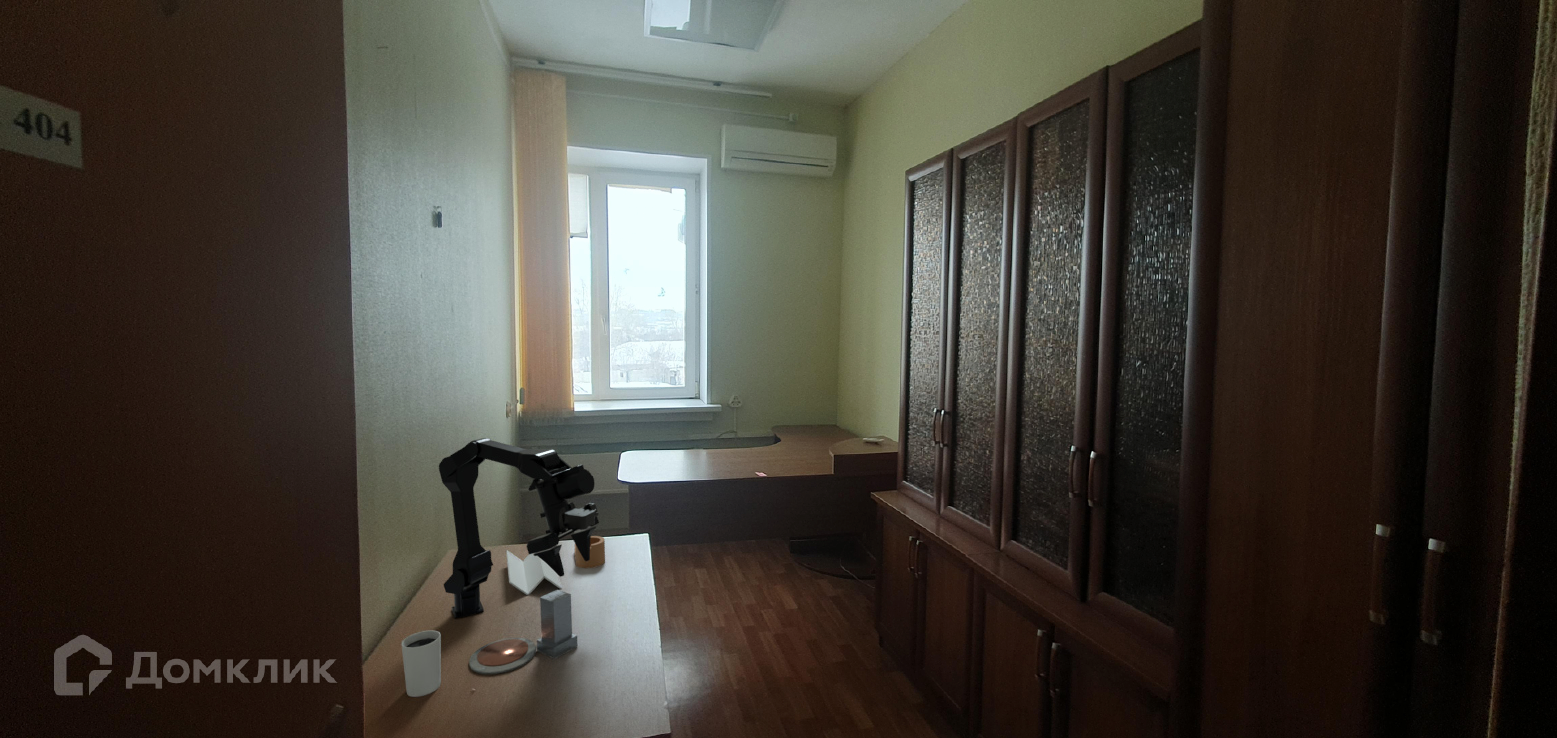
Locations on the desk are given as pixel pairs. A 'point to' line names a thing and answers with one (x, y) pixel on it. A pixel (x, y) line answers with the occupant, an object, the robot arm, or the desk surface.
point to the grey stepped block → (556, 625)
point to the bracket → (592, 553)
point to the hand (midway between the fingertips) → (575, 568)
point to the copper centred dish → (502, 656)
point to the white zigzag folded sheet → (529, 572)
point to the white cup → (422, 662)
